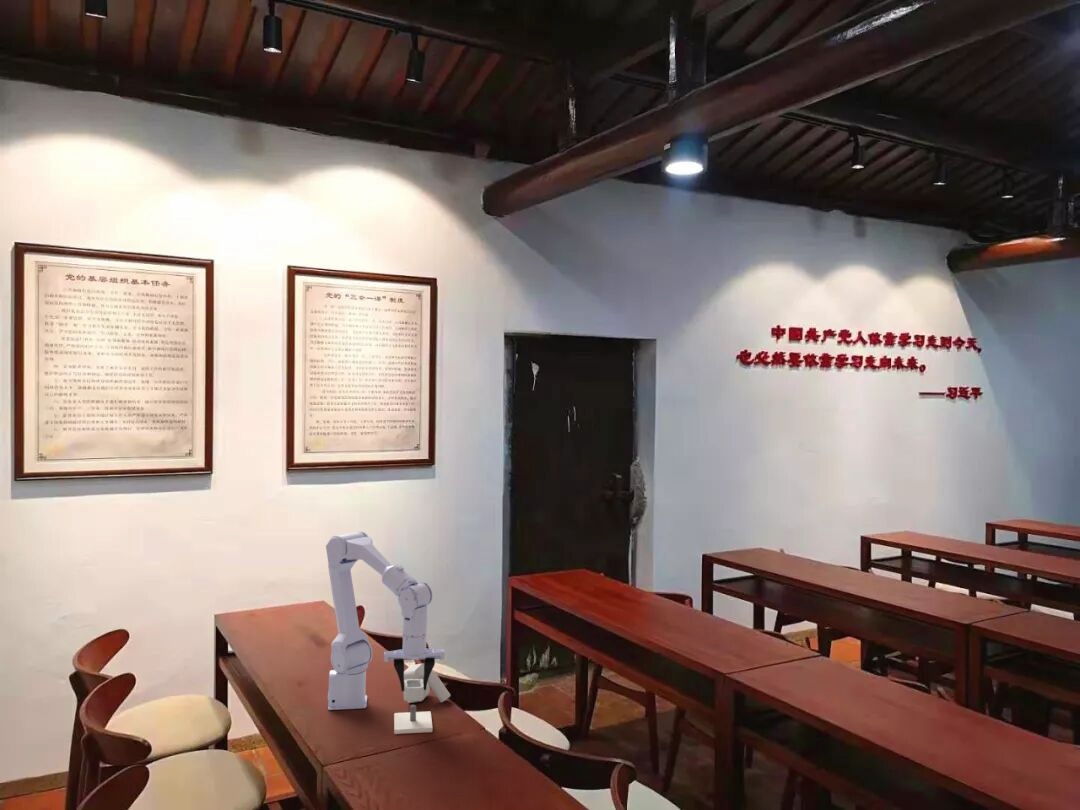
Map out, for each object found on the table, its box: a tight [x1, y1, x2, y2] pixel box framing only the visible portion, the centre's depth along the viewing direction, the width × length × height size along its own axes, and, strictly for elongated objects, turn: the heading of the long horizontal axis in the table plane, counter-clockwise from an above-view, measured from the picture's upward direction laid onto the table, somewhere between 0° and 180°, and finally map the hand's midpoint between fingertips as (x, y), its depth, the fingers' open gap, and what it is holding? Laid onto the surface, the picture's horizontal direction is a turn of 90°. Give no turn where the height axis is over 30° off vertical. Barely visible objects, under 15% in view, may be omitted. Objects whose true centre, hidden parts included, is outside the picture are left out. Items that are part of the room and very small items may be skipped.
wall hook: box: [404, 662, 451, 704], centre depth 213 cm, size 8×10×10 cm
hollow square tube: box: [403, 679, 425, 702], centre depth 198 cm, size 6×5×3 cm
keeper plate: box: [393, 704, 433, 735], centre depth 198 cm, size 9×10×4 cm
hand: (413, 689), depth 198 cm, fingers closed on hollow square tube, 5 cm apart
